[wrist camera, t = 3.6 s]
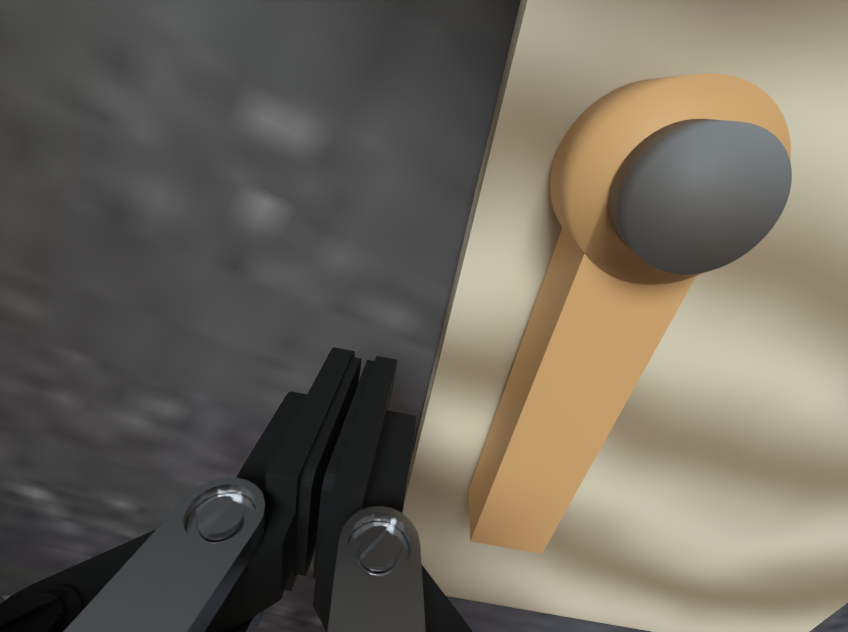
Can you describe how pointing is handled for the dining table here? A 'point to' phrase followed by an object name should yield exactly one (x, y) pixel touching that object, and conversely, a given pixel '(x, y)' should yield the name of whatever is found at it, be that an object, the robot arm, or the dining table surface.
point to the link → (590, 312)
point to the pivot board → (684, 338)
